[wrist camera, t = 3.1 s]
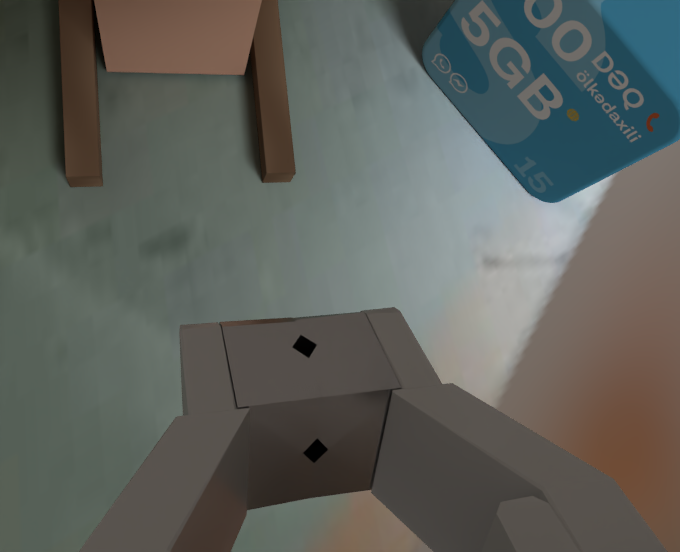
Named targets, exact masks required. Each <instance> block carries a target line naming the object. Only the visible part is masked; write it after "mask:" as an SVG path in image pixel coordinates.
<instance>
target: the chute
mask: <svg viewBox="0 0 680 552" xmlns="http://www.w3.org/2000/svg"><path fill="white" fill-rule="evenodd" d="M58 1H59V24H60V48H61V72H62V96H63V119H64V143H65V167H66V178H67V180H68V183H69V185H70V187H92V186H103V178H102V159H101V140H100V121H99V101H98V82H97V63H96V44H95V24H94V5H93V0H58ZM250 56H251V67H252V77H253V88H254V98H255V109H256V119H257V130H258V140H259V151H260V161H261V172H262V182H263V183H269V182H290V181H291V180H292V178H293V176H294V174H295V173H296V172H295V162H294V153H293V143H292V134H291V124H290V115H289V105H288V95H287V86H286V76H285V67H284V57H283V48H282V38H281V28H280V19H279V9H278V0H262V2H261V6H260V10H259V14H258V18H257V23H256V27H255V31H254V35H253V40H252V44H251V48H250Z"/></svg>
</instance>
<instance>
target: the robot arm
mask: <svg viewBox="0 0 680 552" xmlns="http://www.w3.org/2000/svg"><path fill="white" fill-rule="evenodd" d="M179 334H180V359H181V384H182V404H183V416H178V417H176V418H175V419H174V421H173V422H172V423H171V425H170V426H169V428H168V429H167V430H166V432H165V433H164V434H163V436H162V437H161V439H160V440H159V441H158V443H157V444H156V446H155V447H154V448H153V450H152V451H151V452H150V454H149V455H148V457H147V458H146V459H145V461H144V462H143V464H142V465H141V466H140V468H139V469H138V470H137V472H136V473H135V475H134V476H133V477H132V479H131V480H130V482H129V483H128V484H127V486H126V487H125V489H124V490H123V491H122V493H121V494H120V495H119V497H118V498H117V500H116V501H115V502H114V504H113V505H112V507H111V508H110V509H109V511H108V512H107V513H106V515H105V516H104V518H103V519H102V520H101V522H100V523H99V525H98V526H97V527H96V529H95V530H94V531H93V533H92V534H91V536H90V537H89V538H88V540H87V541H86V543H85V544H84V545H83V547H82V548H81V550H80V551H79V552H231V550H232V547H233V545H234V543H235V540H236V538H237V536H238V533H239V531H240V529H241V526H242V524H243V522H244V519H245V517H246V515H247V510H251V509H256V508H261V507H266V506H271V505H277V504H282V503H287V502H292V501H297V500H302V499H308V498H314V497H322V496H329V495H336V494H344V493H351V492H358V491H366V490H372V492H371V493H372V494H373V495H374V496H375V497H376V498H377V499H378V500H380V501H381V502H382V503H383V504H384V505H385V506H386V507H387V508H388V509H389V510H390V511H391V512H392V513H393V514H394V515H395V516H396V517H398V518H399V519H400V520H401V521H402V522H403V523H404V524H405V525H406V526H407V527H408V528H409V529H410V530H411V531H412V532H413V533H415V534H416V535H417V536H418V537H419V538H420V539H421V540H422V541H423V542H424V543H425V544H426V545H427V546H428V547H430V549H432V550H433V551H434V552H667V550H666V549H665V548H664V546H663V545H662V544H661V542H660V541H659V540H658V538H657V537H656V535H655V534H654V533H653V531H652V530H651V529H650V527H649V526H648V525H647V523H646V522H645V521H644V519H643V518H642V517H641V515H640V514H639V513H638V511H637V510H636V509H635V507H634V506H633V505H632V503H631V502H630V501H629V499H628V498H627V497H626V495H625V494H624V493H623V491H622V490H621V489H620V487H619V486H618V484H617V483H616V482H615V480H614V479H613V478H611V477H609V476H607V475H606V474H604V473H602V472H601V471H599V470H597V469H596V468H594V467H592V466H591V465H589V464H587V463H586V462H584V461H582V460H581V459H579V458H577V457H575V456H574V455H572V454H570V453H569V452H567V451H565V450H564V449H562V448H560V447H558V446H557V445H555V444H553V443H552V442H550V441H548V440H547V439H545V438H544V437H542V436H540V435H538V434H537V433H535V432H533V431H532V430H530V429H528V428H527V427H525V426H523V425H522V424H520V423H518V422H517V421H515V420H513V419H511V418H510V417H508V416H507V415H505V414H503V413H502V412H500V411H498V410H496V409H495V408H493V407H491V406H490V405H488V404H486V403H485V402H483V401H481V400H480V399H478V398H476V397H475V396H473V395H471V394H470V393H468V392H466V391H464V390H463V389H461V388H459V387H458V386H456V385H454V384H453V383H450V384H442V383H441V381H440V379H439V378H438V376H437V374H436V372H435V371H434V369H433V367H432V365H431V364H430V362H429V360H428V359H427V357H426V355H425V353H424V352H423V350H422V348H421V346H420V345H419V343H418V341H417V340H416V338H415V336H414V334H413V333H412V331H411V329H410V327H409V326H408V324H407V322H406V320H405V319H404V317H403V315H402V314H401V312H400V311H399V310H398V309H396V308H395V307H392V308H382V309H373V310H364V311H361V312H354V313H343V314H331V315H320V316H309V317H297V318H277V319H260V320H244V321H228V322H220V323H219V324H218V322H217V323H203V324H189V325H180V332H179Z"/></svg>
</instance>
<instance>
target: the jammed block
mask: <svg viewBox="0 0 680 552" xmlns="http://www.w3.org/2000/svg"><path fill="white" fill-rule="evenodd" d="M261 2H262V0H94V3H95V8H96V14H97V19H98V25H99V30H100V36H101V42H102V47H103V53H104V58H105V64H106V69H107V72H138V73H179V74H221V75H244V73H245V69H246V65H247V61H248V56H249V52H250V48H251V44H252V40H253V35H254V31H255V27H256V23H257V18H258V14H259V10H260V6H261Z"/></svg>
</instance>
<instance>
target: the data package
mask: <svg viewBox="0 0 680 552" xmlns="http://www.w3.org/2000/svg"><path fill="white" fill-rule="evenodd" d="M422 58H423V63H424V66H425V68H426V70H427V72H428V74H429V75H430V77H431V78H432V79H433V80H434V82H435V83H436V84H437V85H438V86H439V87H440V89H441V90H442V91H443V92H444V93H445V94H446V96H447V97H448V98H449V99H450V100H451V102H452V103H453V104H454V105H455V106H456V107H457V109H458V110H459V111H460V112H461V113H462V115H463V116H464V117H465V118H466V119H467V120H468V122H469V123H470V124H471V125H472V126H473V128H474V129H475V130H476V131H477V132H478V133H479V135H480V136H481V137H482V138H483V139H484V140H485V142H486V143H487V144H488V145H489V146H490V148H491V149H492V150H493V151H494V152H495V153H496V155H497V156H498V157H499V158H500V159H501V161H502V162H503V163H504V164H505V165H506V166H507V168H508V169H509V170H510V171H511V172H512V174H513V175H514V176H515V177H516V178H517V179H518V181H519V182H520V183H521V184H522V185H523V187H524V188H525V189H526V190H527V191H528V192H529V193H530V194H531V195H533V196H534V197H535V198H537V199H539V200H541V201H544V202H548V203H555V202H559V201H561V200H563V199H565V198H567V197H569V196H571V195H573V194H575V193H577V192H579V191H581V190H583V189H585V188H587V187H589V186H591V185H593V184H595V183H597V182H599V181H601V180H602V179H604V178H606V177H608V176H610V175H612V174H614V173H616V172H618V171H620V170H622V169H624V168H626V167H628V166H630V165H632V164H633V163H636V162H637V161H639V160H641V159H643V158H645V157H647V156H649V155H651V154H653V153H655V152H657V151H659V150H661V149H663V148H665V147H667V146H669V145H671V144H673V143H674V142H676V141H678V140H679V139H680V0H455V1H454V2H453V4H452V5H451V6H450V8H449V9H448V11H447V12H446V13H445V15H444V16H443V18H442V19H441V20H440V22H439V23H438V25H437V26H436V27H435V29H434V30H433V32H432V33H431V34H430V36H429V37H428V39H427V40H426V41H425V43H424V45H423V49H422Z"/></svg>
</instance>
